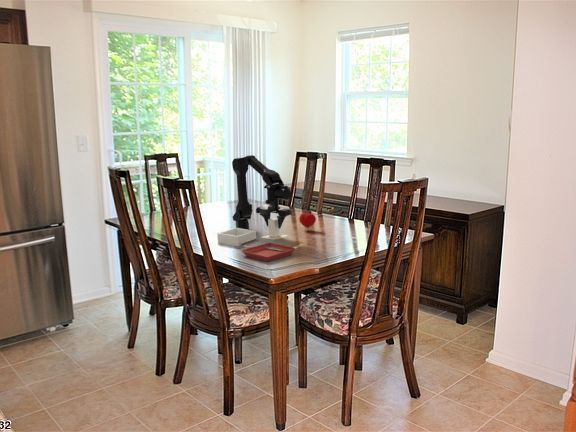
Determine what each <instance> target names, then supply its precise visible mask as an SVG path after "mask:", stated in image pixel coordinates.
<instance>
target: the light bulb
mask: <svg viewBox="0 0 576 432" xmlns="http://www.w3.org/2000/svg"><path fill="white" fill-rule="evenodd" d="M298 219H299V223H300V224H301V225H302V226H304V228H305V231H306V232H307V231H311V227H312V226H313V225H314V224H315V223H316V221H317V218H316V216H315V215H314V214H313V213H307V212H303V213H301V214H300V215H299V218H298Z"/></svg>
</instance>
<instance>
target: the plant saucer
mask: <svg viewBox="0 0 576 432" xmlns="http://www.w3.org/2000/svg"><path fill="white" fill-rule="evenodd" d="M272 248H274V249H272ZM295 250H296V248H295V247H292V246H288V245H282V244H278V243H273V242H266V243H263V244H259V245H255V246H251V247H249V248H245V249H242V250H241V252H242V253H243V255H245V256H246V257H250V258H253V259H256V260H260V261H265V262H271V261H274V260H278V259H280V258H281V259H282V258H284V257H287V256H291V255H292V253H294V251H295Z"/></svg>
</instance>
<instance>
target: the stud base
mask: <svg viewBox="0 0 576 432" xmlns="http://www.w3.org/2000/svg"><path fill="white" fill-rule="evenodd" d="M287 236H289V235H288V234H287V235H286V234H281V233H280V236H278V237H276V238H274V237H269V234H266V235H263V236H261V237H260V238H262V239H269V240H274V241H277V240H280V239H282V238H286V237H287Z"/></svg>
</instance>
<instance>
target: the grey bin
mask: <svg viewBox="0 0 576 432" xmlns="http://www.w3.org/2000/svg"><path fill="white" fill-rule="evenodd" d="M216 234H217V235H216V236H217V244H221V245H228V246H232V247H240V246H241V247H242V246H244V243H247V242H250V241H253V240H256V239H257V231H256V230H253V229H251V230H247V229H240V228H236V227H233V228H229V229H227V230H224V231H220V232H218V233H216Z"/></svg>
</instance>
